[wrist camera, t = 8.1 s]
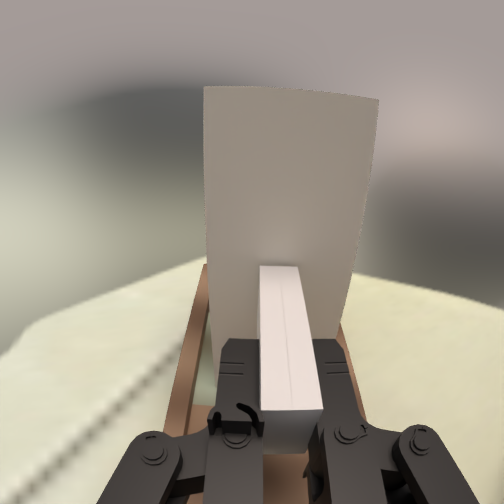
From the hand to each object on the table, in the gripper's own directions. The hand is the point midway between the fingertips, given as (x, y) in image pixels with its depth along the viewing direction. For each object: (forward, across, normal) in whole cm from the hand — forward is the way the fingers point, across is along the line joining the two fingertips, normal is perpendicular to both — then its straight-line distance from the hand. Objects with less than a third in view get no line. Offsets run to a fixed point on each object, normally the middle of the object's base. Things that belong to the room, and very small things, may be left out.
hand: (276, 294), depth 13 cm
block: (+4, 0, -7) cm, 8 cm away
